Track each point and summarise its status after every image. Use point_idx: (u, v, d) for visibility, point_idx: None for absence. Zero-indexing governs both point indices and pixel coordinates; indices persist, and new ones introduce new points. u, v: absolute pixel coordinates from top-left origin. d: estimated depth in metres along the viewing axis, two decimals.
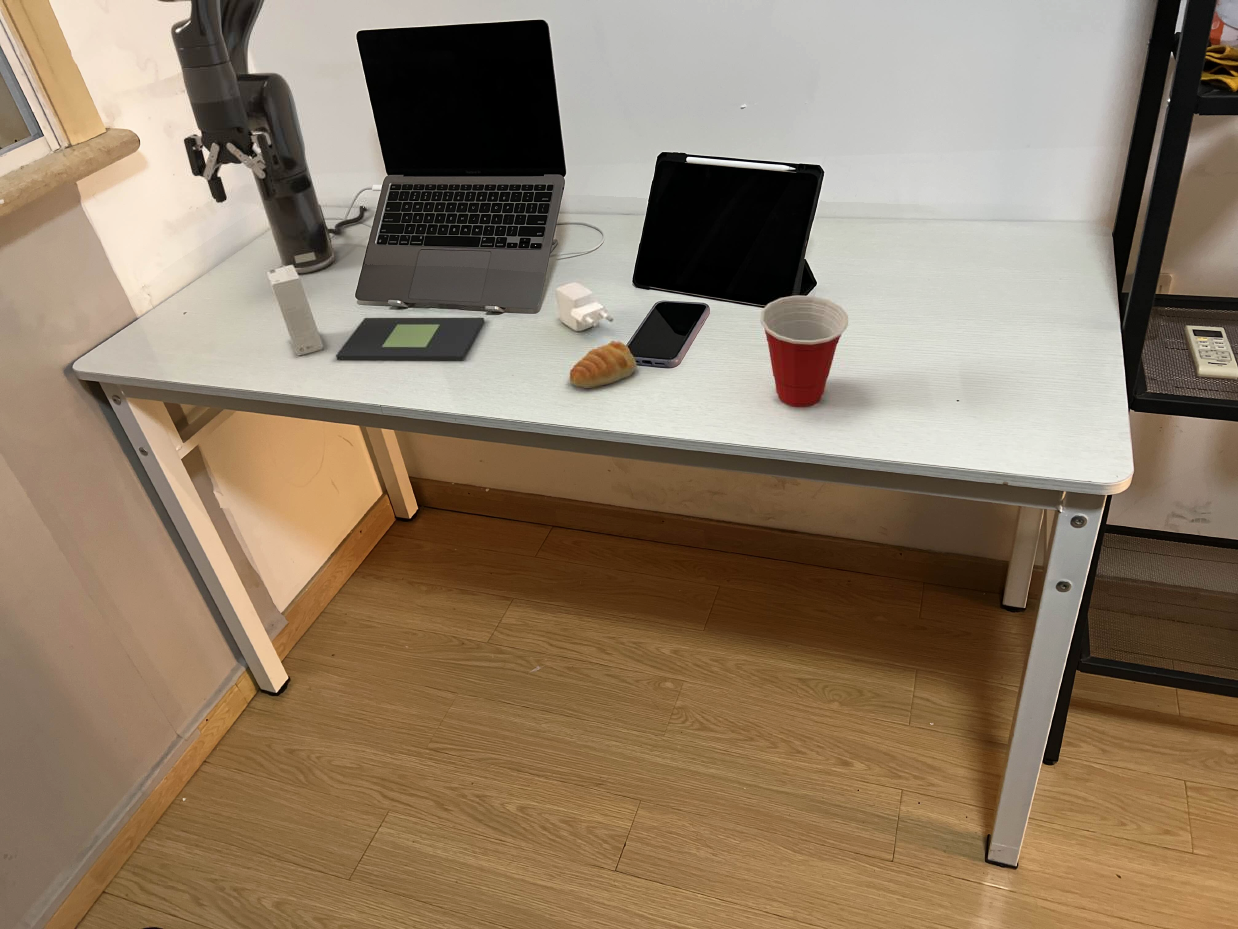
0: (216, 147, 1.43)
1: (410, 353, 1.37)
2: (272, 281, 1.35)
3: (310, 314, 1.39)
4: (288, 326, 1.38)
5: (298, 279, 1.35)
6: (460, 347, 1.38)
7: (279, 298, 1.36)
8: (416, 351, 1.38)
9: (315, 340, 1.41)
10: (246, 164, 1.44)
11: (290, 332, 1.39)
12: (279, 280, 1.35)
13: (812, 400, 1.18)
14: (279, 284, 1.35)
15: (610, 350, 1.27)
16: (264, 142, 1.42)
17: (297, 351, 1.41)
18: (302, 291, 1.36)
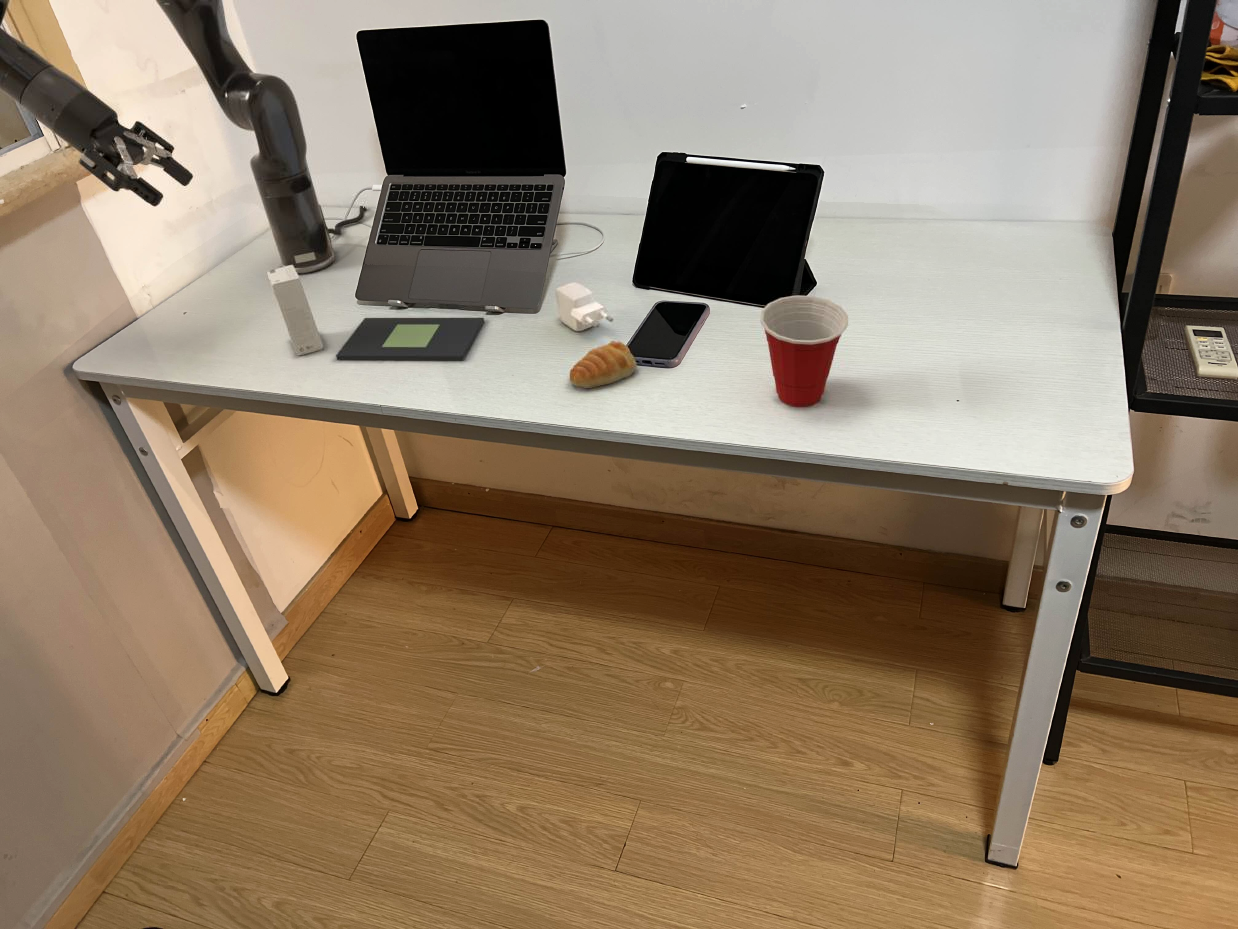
0: None
1: (410, 353, 1.37)
2: (272, 281, 1.35)
3: (310, 314, 1.39)
4: (288, 326, 1.38)
5: (298, 279, 1.35)
6: (460, 347, 1.38)
7: (279, 298, 1.36)
8: (416, 351, 1.38)
9: (315, 340, 1.41)
10: None
11: (290, 332, 1.39)
12: (279, 280, 1.35)
13: (812, 400, 1.18)
14: (279, 284, 1.35)
15: (610, 350, 1.27)
16: (85, 167, 1.24)
17: (297, 351, 1.41)
18: (302, 291, 1.36)
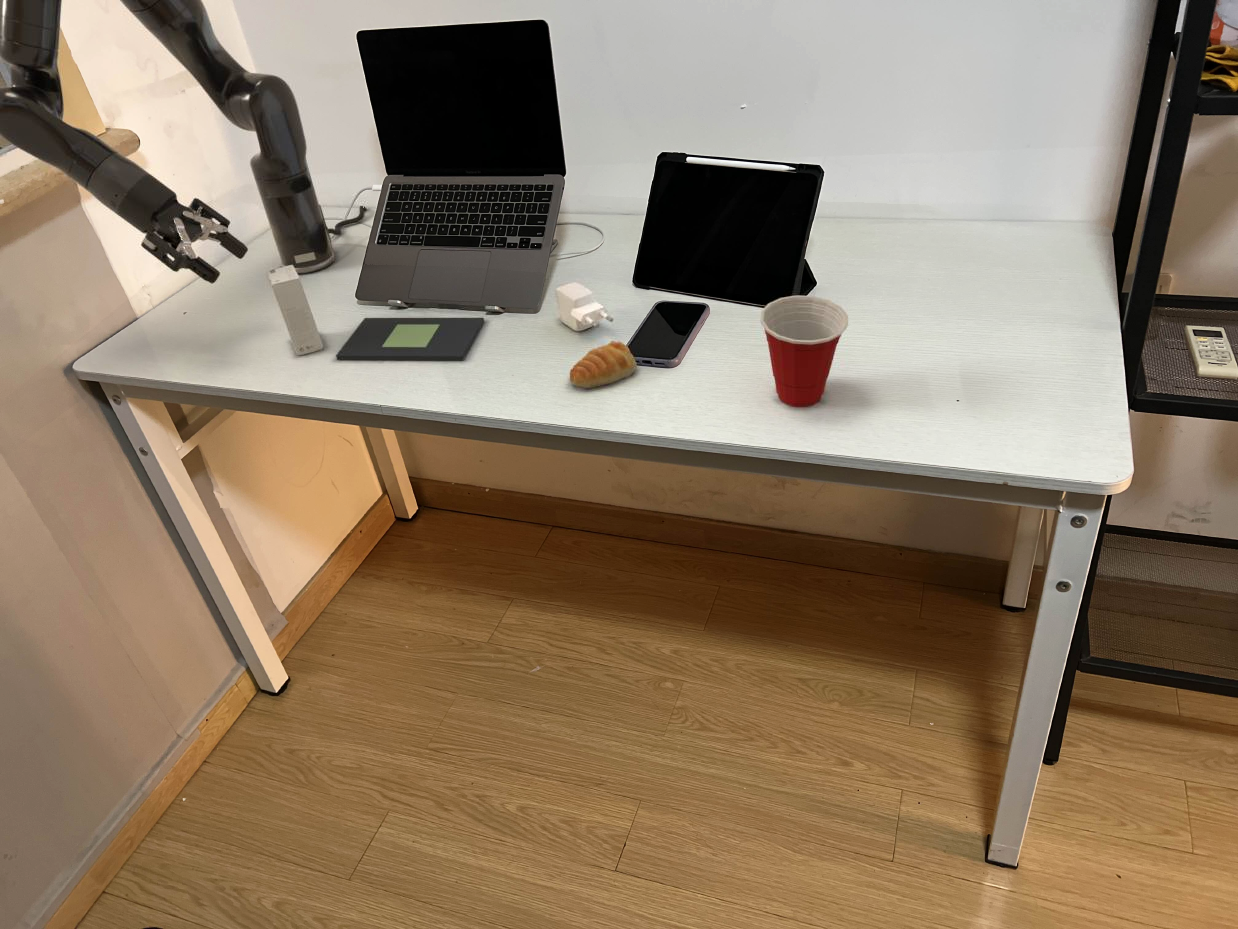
0: None
1: (410, 353, 1.37)
2: (272, 281, 1.35)
3: (310, 314, 1.39)
4: (288, 326, 1.38)
5: (298, 279, 1.35)
6: (460, 347, 1.38)
7: (279, 298, 1.36)
8: (416, 351, 1.38)
9: (315, 340, 1.41)
10: None
11: (290, 332, 1.39)
12: (279, 280, 1.35)
13: (812, 400, 1.18)
14: (279, 284, 1.35)
15: (610, 350, 1.27)
16: (147, 249, 1.30)
17: (297, 351, 1.41)
18: (302, 291, 1.36)
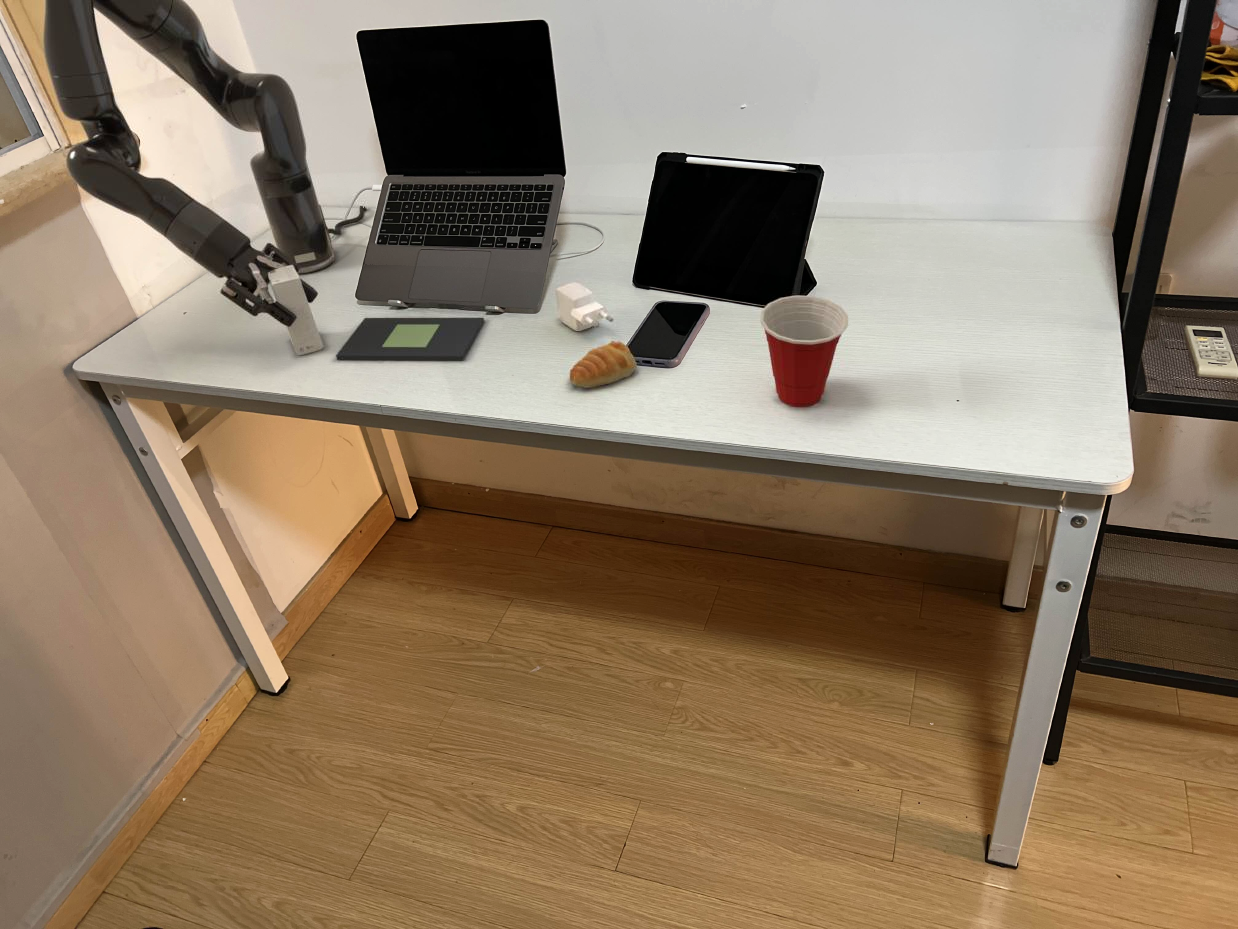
0: None
1: (410, 353, 1.37)
2: (272, 281, 1.35)
3: (310, 314, 1.39)
4: None
5: (298, 279, 1.35)
6: (460, 347, 1.38)
7: (279, 298, 1.35)
8: (416, 351, 1.38)
9: (315, 340, 1.41)
10: None
11: (290, 332, 1.39)
12: (279, 280, 1.35)
13: (812, 400, 1.18)
14: (279, 284, 1.35)
15: (610, 350, 1.27)
16: (226, 296, 1.33)
17: (297, 351, 1.41)
18: (302, 291, 1.36)
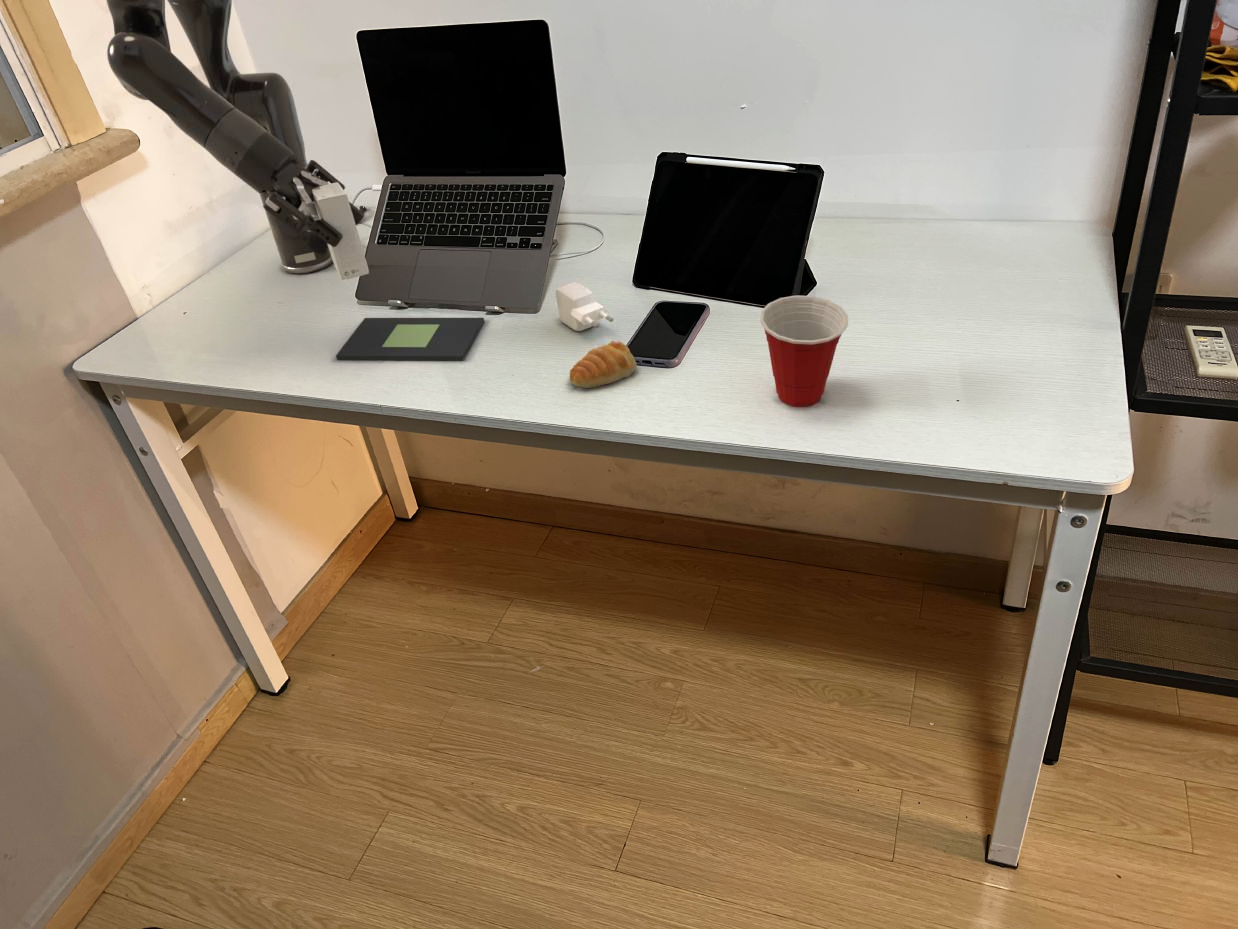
0: None
1: (410, 353, 1.37)
2: (317, 197, 1.27)
3: (356, 234, 1.30)
4: (333, 247, 1.30)
5: (345, 195, 1.27)
6: (460, 347, 1.38)
7: (325, 215, 1.27)
8: (416, 351, 1.38)
9: (360, 264, 1.33)
10: None
11: (335, 253, 1.30)
12: (325, 196, 1.26)
13: (812, 400, 1.18)
14: (325, 200, 1.26)
15: (610, 350, 1.27)
16: (269, 211, 1.24)
17: (342, 275, 1.32)
18: (349, 209, 1.28)
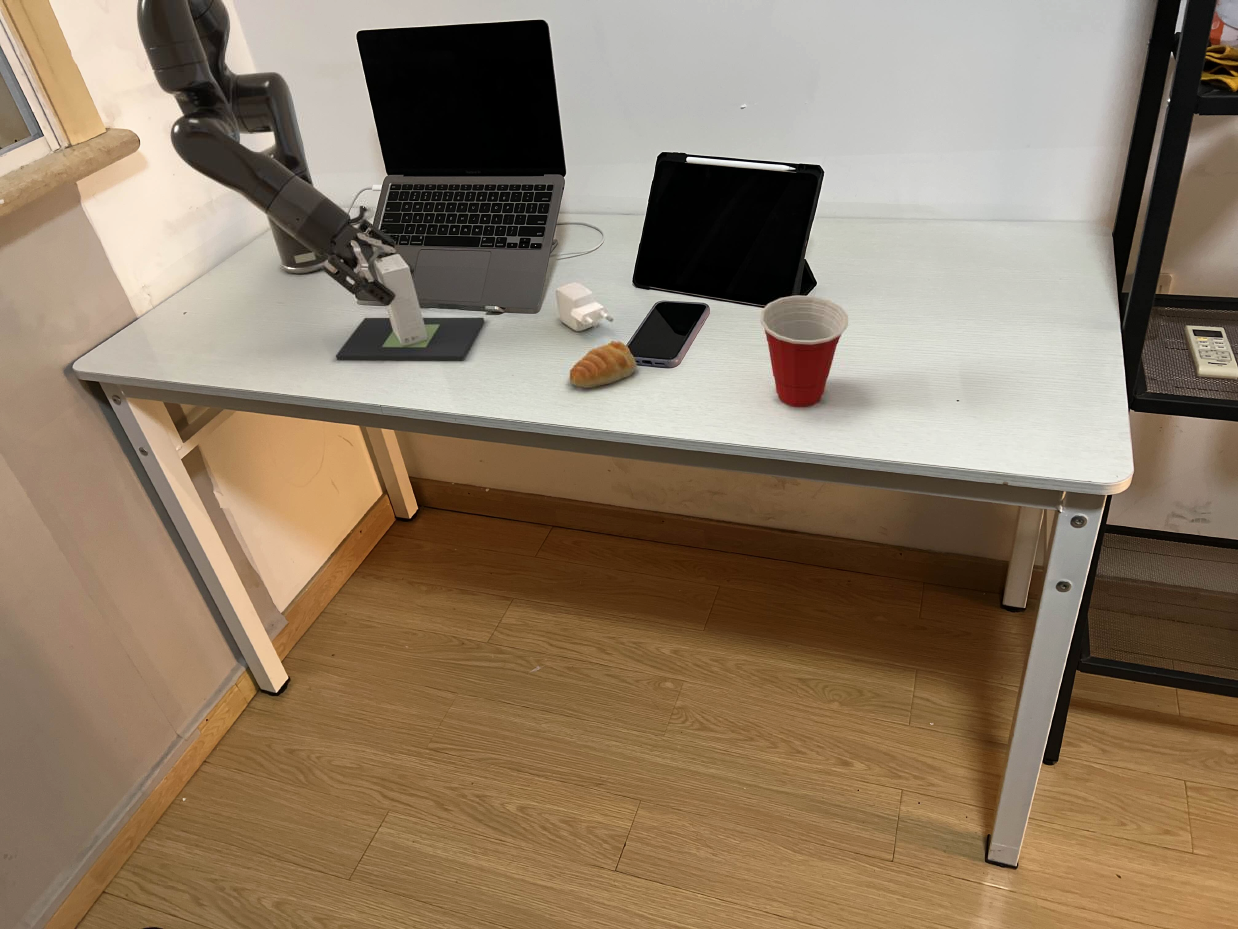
0: None
1: (410, 353, 1.37)
2: (381, 270, 1.33)
3: (417, 304, 1.36)
4: (395, 316, 1.36)
5: (407, 268, 1.33)
6: (460, 347, 1.38)
7: (388, 287, 1.33)
8: (416, 351, 1.38)
9: (420, 331, 1.39)
10: None
11: (397, 322, 1.36)
12: (388, 269, 1.33)
13: (812, 400, 1.18)
14: (389, 273, 1.32)
15: (610, 350, 1.27)
16: None
17: (402, 342, 1.38)
18: (411, 280, 1.34)
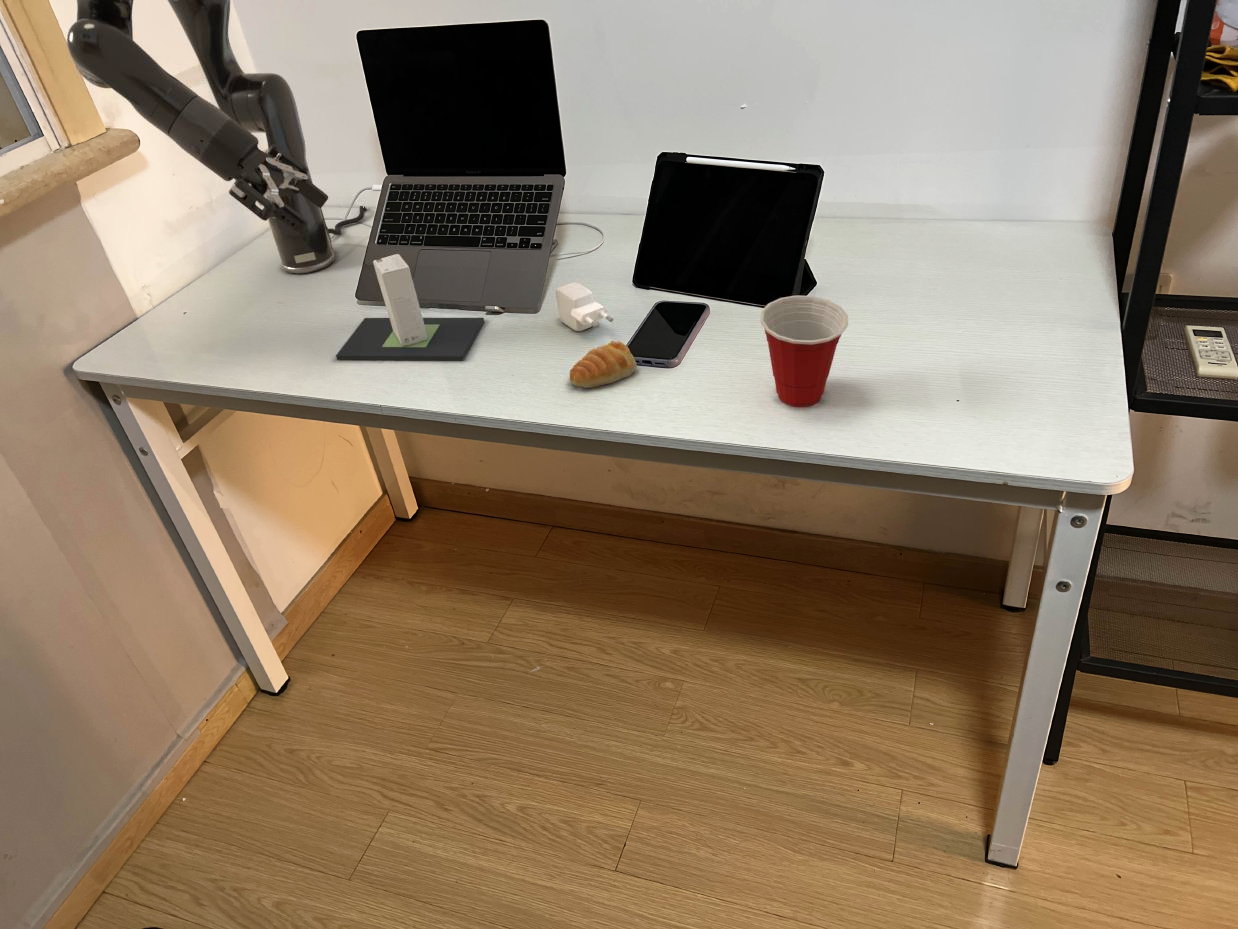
0: None
1: (410, 353, 1.37)
2: (381, 270, 1.33)
3: (417, 304, 1.36)
4: (395, 316, 1.36)
5: (407, 268, 1.33)
6: (460, 347, 1.38)
7: (388, 287, 1.33)
8: (416, 351, 1.38)
9: (420, 331, 1.39)
10: None
11: (397, 322, 1.36)
12: (388, 269, 1.33)
13: (812, 400, 1.18)
14: (389, 273, 1.32)
15: (610, 350, 1.27)
16: (235, 197, 1.26)
17: (402, 342, 1.38)
18: (411, 280, 1.34)
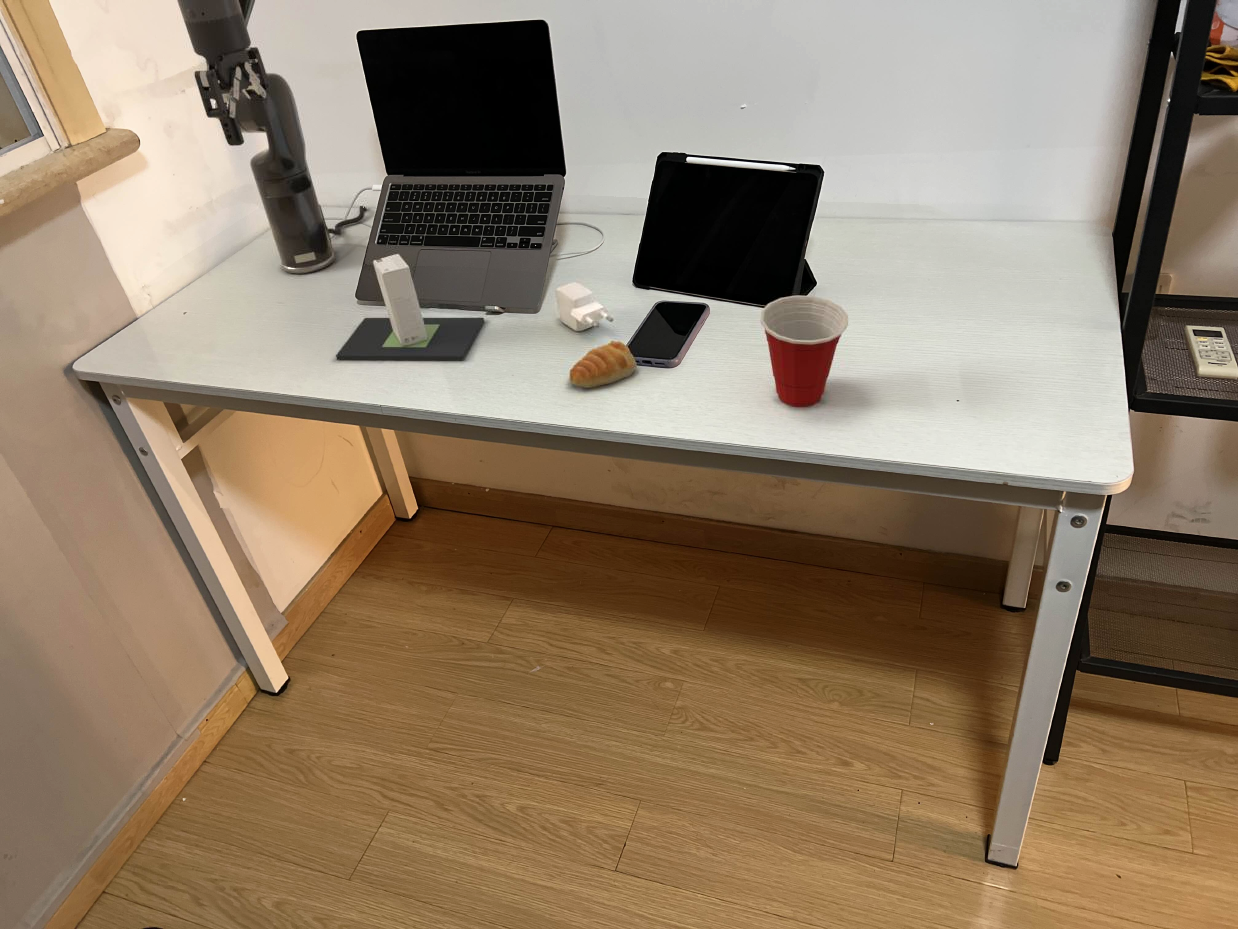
0: None
1: (410, 353, 1.37)
2: (381, 270, 1.33)
3: (417, 304, 1.36)
4: (395, 316, 1.36)
5: (407, 268, 1.33)
6: (460, 347, 1.38)
7: (388, 287, 1.33)
8: (416, 351, 1.38)
9: (420, 331, 1.39)
10: None
11: (397, 322, 1.36)
12: (388, 269, 1.33)
13: (812, 400, 1.18)
14: (389, 273, 1.32)
15: (610, 350, 1.27)
16: (197, 81, 1.22)
17: (402, 342, 1.38)
18: (410, 280, 1.34)
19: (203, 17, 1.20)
